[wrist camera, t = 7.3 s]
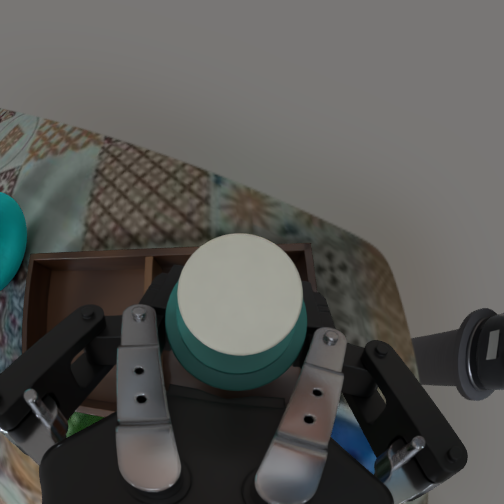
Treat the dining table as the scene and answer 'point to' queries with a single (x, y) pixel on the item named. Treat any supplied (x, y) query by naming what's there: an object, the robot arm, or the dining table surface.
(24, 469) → the dining table surface
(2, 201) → the donuts
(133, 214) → the dining table surface
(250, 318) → the bottle
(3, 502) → the dining table surface
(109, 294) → the tray
